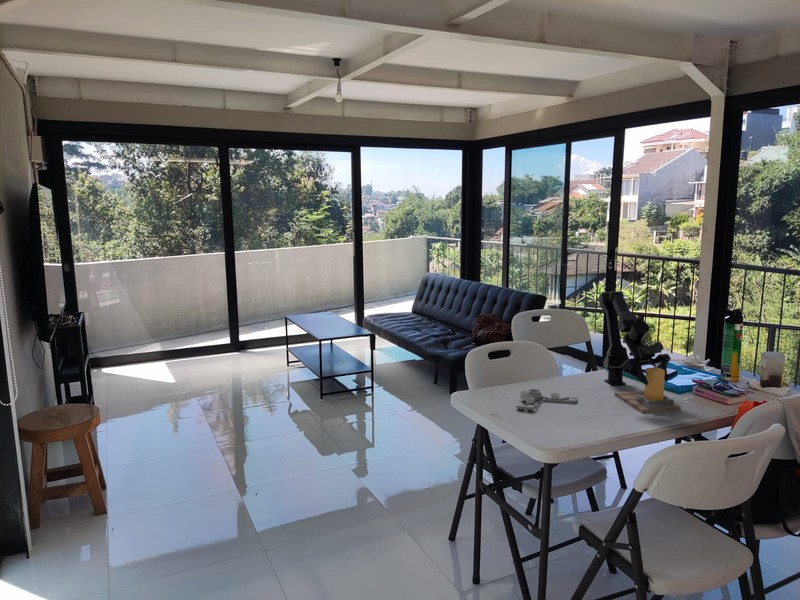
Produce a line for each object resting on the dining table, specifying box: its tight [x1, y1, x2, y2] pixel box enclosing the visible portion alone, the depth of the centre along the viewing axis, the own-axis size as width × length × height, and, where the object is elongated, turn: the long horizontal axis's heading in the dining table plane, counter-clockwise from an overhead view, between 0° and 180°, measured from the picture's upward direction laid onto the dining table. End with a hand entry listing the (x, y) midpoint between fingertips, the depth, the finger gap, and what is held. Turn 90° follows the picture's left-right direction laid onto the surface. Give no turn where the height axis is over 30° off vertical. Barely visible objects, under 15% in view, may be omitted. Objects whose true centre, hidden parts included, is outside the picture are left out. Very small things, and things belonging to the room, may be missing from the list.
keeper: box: [614, 389, 682, 413], centre depth 221 cm, size 20×15×4 cm
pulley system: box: [515, 388, 578, 411], centre depth 225 cm, size 27×5×15 cm
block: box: [644, 366, 665, 401], centre depth 215 cm, size 4×4×13 cm
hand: (657, 382), depth 214 cm, fingers open, 9 cm apart
